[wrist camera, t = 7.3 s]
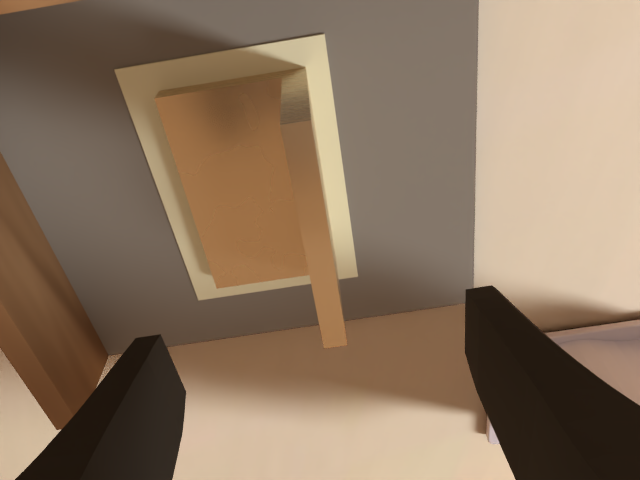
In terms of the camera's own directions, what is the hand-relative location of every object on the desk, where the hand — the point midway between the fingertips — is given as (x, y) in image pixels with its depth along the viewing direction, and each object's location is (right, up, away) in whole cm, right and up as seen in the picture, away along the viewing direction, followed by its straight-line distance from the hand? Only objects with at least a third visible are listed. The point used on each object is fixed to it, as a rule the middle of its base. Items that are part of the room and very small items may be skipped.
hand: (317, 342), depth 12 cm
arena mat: (-3, +5, +8) cm, 10 cm away
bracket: (-2, +5, +7) cm, 9 cm away
